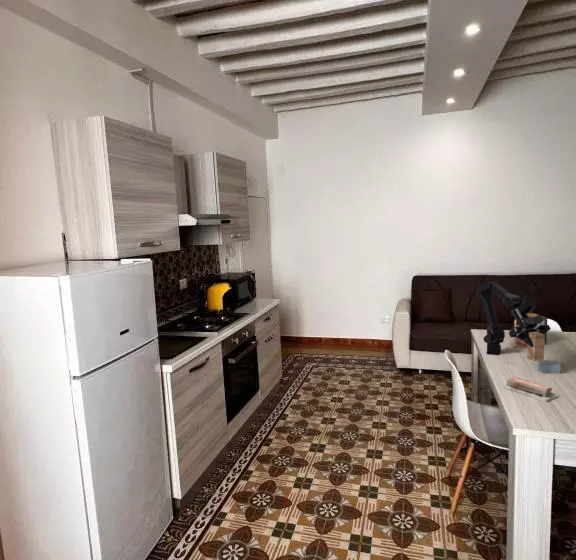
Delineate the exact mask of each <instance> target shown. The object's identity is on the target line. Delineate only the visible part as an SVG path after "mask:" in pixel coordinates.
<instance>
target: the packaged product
mask: <svg viewBox="0 0 576 560" xmlns="http://www.w3.org/2000/svg"><path fill="white" fill-rule="evenodd" d="M503 389H504V390H507V391H510V392H513V393H515V392H516V393H515V394H518V393H519V395H522V396H524V395H525V397H528V398H530V399H534V400H537V401H541V402H543V401H544V403H547V402H549V401H551V400H554V399H556V398H558V397H559V394H558V393H554V392H552V391H553V388H552V387H550V386H546V385H544V384H542V383H537V382H534V381H531V380H527V379H525V378H521V377H517V376H513V377H510V378H507V380H506V385H504V387H503Z"/></svg>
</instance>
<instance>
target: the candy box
mask: <svg viewBox="0 0 576 560" xmlns="http://www.w3.org/2000/svg"><path fill="white" fill-rule="evenodd" d="M513 321H514V322H513V327H520V326H519V325H517V324H516V323H517V320H515V319H514V320H513ZM530 333H531V332H530ZM517 337H518V334H517V336H516V337H512V338H513V341H512V345H513V346H514V347H521V348H523V347H525V348H527V343H525V342H524V341H522V340H521V339H519V338H517Z"/></svg>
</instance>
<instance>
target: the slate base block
mask: <svg viewBox="0 0 576 560" xmlns="http://www.w3.org/2000/svg"><path fill="white" fill-rule="evenodd" d="M537 368H538V369H539V371H540V373H549V374H550V373H551V374H561V370H562V367H561V364H560V363H559V362H558V360H552V359H551V360H550V359H544V360H542V361H537Z"/></svg>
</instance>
